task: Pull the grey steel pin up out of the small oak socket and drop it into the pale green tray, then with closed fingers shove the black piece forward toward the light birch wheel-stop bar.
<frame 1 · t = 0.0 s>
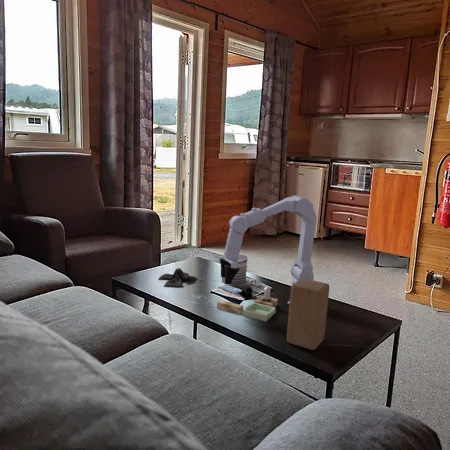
hand: (225, 280, 162), 11 cm above the table, tool pointing down, fingers open, 7 cm apart
black piece: (246, 297, 178), on the table
cloth: (181, 281, 193), on the table
pin: (266, 296, 166), in the pin socket
wooden block: (305, 342, 138), on the table
can: (233, 282, 194), on the table
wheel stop: (229, 310, 161), on the table
tray: (259, 314, 158), on the table
pin socket: (266, 305, 167), on the table
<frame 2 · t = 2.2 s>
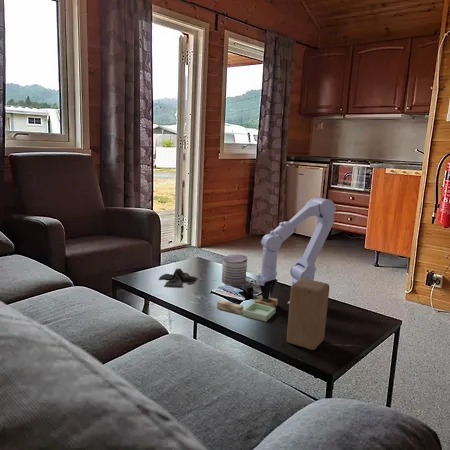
hand: (266, 297, 166), 3 cm above the table, tool pointing down, fingers closed on pin, 2 cm apart
pin: (266, 296, 166), in the pin socket, touching gripper
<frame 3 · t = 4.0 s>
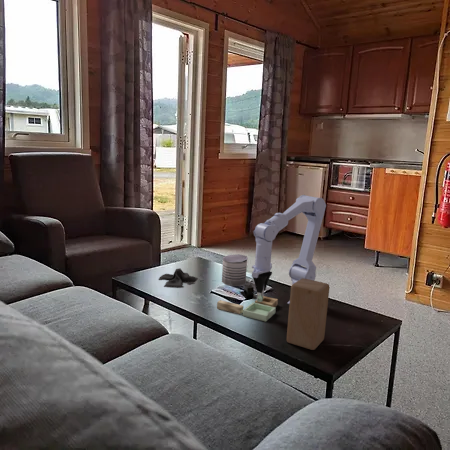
hand: (260, 291, 156), 9 cm above the table, tool pointing down, fingers closed on pin, 2 cm apart
pin: (260, 291, 157), point 9 cm above the table, touching gripper
everything else where it was.
when the fingers open (5 cm above the table, at t = 5.0 s): pin stays where it is, resting on tray.
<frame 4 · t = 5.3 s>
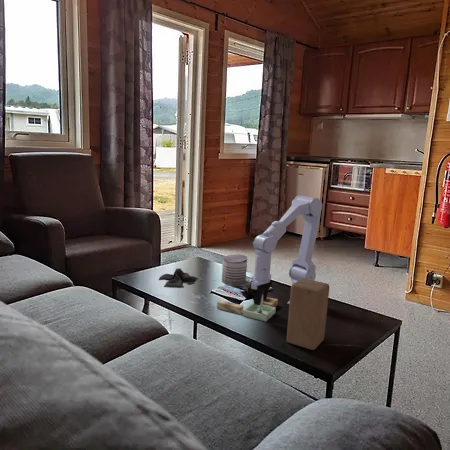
hand: (260, 302, 157), 5 cm above the table, tool pointing down, fingers open, 5 cm apart
pin: (259, 303, 158), in the tray
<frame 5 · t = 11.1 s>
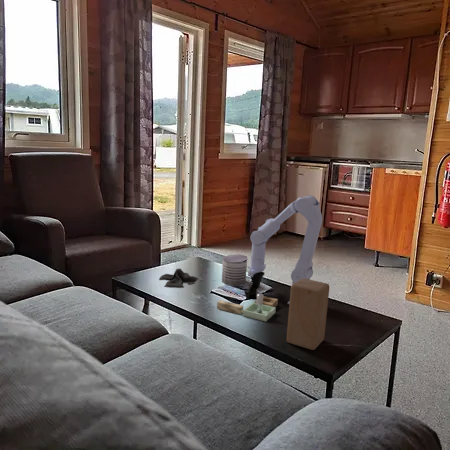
hand: (255, 288, 181), 2 cm above the table, tool pointing down, fingers closed
black piece: (252, 296, 178), on the table, touching gripper
everything else where it was.
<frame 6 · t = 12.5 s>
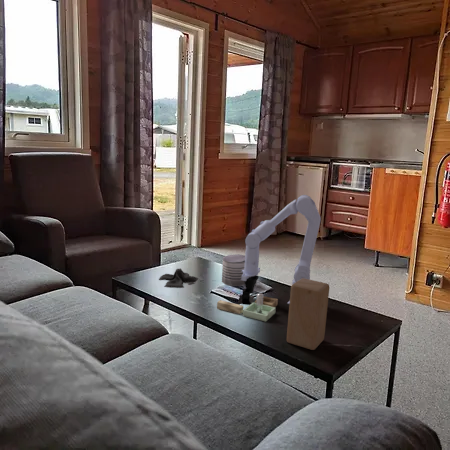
hand: (249, 292, 175), 2 cm above the table, tool pointing down, fingers closed
black piece: (245, 301, 172), on the table
everything else where it was.
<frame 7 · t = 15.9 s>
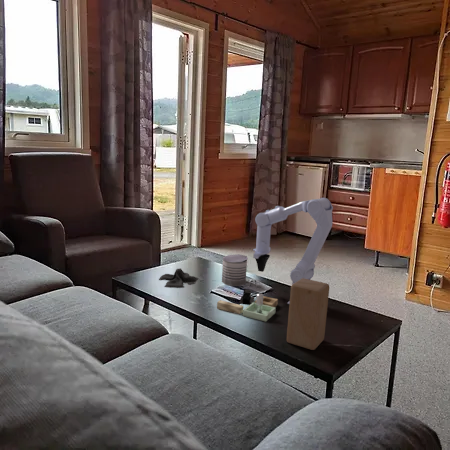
hand: (261, 271, 181), 9 cm above the table, tool pointing down, fingers closed
nothing on the table moved.
at the end: black piece inside the target area (3.4 cm from its centre), on the table; pin inside the target area on the tray (0.1 cm from its centre), point 4.2 cm above the tray's base; the gripper is holding nothing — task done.
